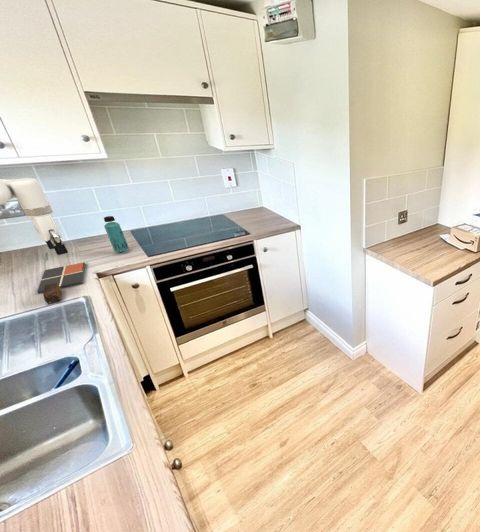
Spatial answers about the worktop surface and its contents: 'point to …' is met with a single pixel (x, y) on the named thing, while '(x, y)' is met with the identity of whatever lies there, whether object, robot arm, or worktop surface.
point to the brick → (52, 293)
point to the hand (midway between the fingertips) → (58, 250)
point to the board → (63, 276)
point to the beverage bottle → (115, 235)
